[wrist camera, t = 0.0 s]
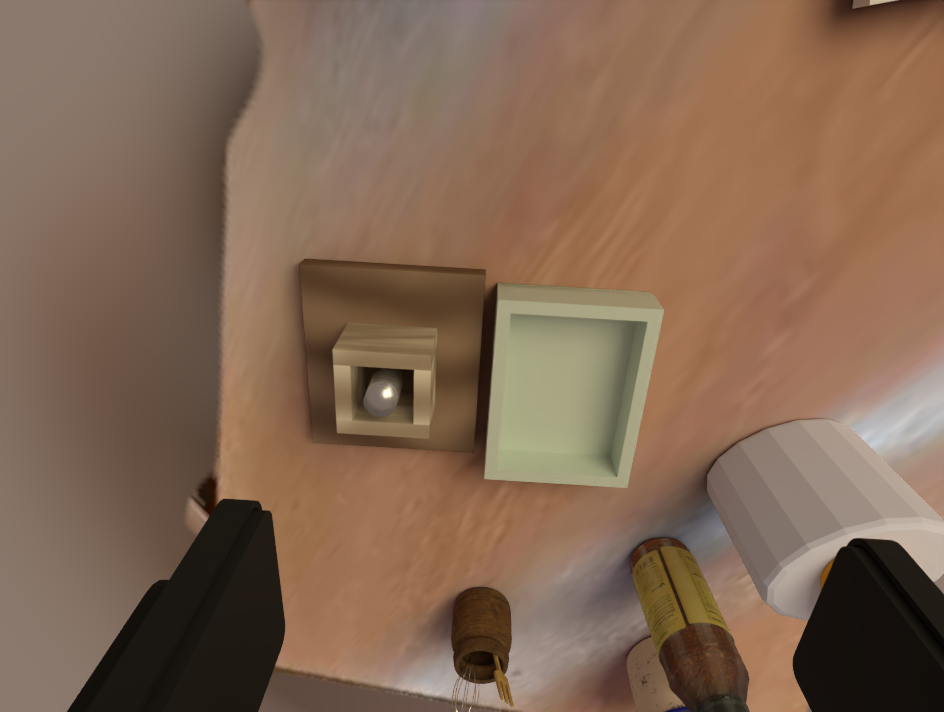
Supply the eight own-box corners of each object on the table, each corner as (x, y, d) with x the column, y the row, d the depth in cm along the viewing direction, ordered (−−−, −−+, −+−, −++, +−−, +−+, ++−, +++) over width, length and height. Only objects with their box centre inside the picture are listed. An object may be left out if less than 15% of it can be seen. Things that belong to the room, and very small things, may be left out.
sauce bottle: (634, 586, 60) (695, 807, 42) (621, 540, 57) (681, 755, 39) (700, 573, 58) (792, 794, 41) (690, 526, 56) (783, 739, 38)
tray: (497, 282, 46) (497, 299, 43) (651, 292, 46) (664, 309, 43) (484, 452, 53) (484, 479, 50) (618, 460, 53) (627, 487, 50)
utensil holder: (441, 604, 61) (430, 718, 51) (484, 574, 59) (482, 685, 49) (481, 633, 63) (479, 749, 52) (524, 604, 61) (531, 719, 50)
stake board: (304, 258, 46) (299, 264, 44) (485, 269, 46) (485, 275, 44) (317, 432, 53) (312, 442, 51) (474, 442, 53) (473, 452, 51)
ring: (347, 322, 46) (332, 349, 42) (437, 328, 46) (431, 355, 42) (351, 400, 49) (336, 433, 45) (434, 405, 49) (429, 438, 45)
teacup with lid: (705, 685, 66) (746, 802, 55) (622, 688, 66) (647, 804, 56) (714, 607, 60) (760, 720, 50) (623, 612, 61) (651, 724, 51)
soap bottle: (718, 519, 56) (830, 739, 37) (690, 454, 52) (796, 658, 34) (864, 468, 53) (1063, 679, 34) (843, 396, 49) (1049, 585, 31)
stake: (377, 351, 47) (362, 386, 42) (407, 352, 47) (396, 389, 42) (378, 377, 48) (363, 415, 43) (407, 379, 48) (396, 417, 43)
